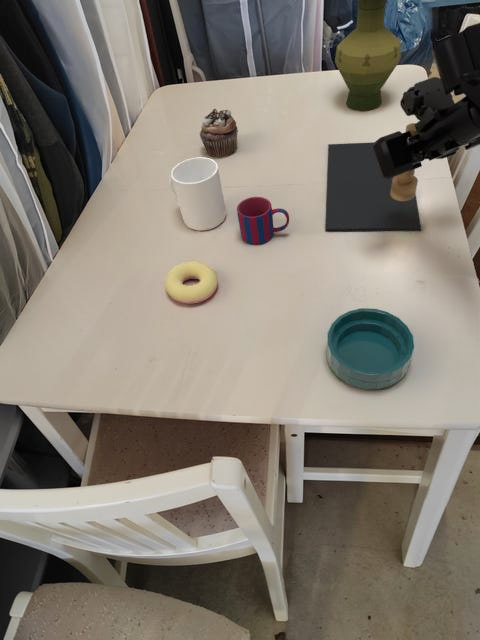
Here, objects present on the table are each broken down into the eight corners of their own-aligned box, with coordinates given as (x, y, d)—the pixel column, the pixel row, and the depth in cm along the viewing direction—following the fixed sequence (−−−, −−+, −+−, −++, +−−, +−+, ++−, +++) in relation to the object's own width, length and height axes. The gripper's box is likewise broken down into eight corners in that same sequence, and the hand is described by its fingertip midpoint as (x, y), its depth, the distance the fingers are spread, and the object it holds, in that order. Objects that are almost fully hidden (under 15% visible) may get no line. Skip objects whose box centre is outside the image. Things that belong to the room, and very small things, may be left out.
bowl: (404, 327, 71) (409, 309, 68) (412, 394, 63) (418, 377, 60) (327, 325, 73) (328, 307, 70) (325, 388, 66) (326, 372, 62)
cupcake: (242, 139, 116) (237, 100, 108) (236, 159, 110) (231, 119, 102) (207, 140, 118) (199, 102, 110) (199, 160, 112) (191, 122, 104)
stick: (413, 187, 84) (427, 119, 74) (416, 201, 81) (430, 132, 71) (389, 187, 84) (399, 121, 75) (391, 201, 82) (401, 134, 72)
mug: (220, 233, 92) (210, 184, 83) (167, 230, 95) (152, 182, 86) (231, 206, 98) (223, 157, 89) (181, 203, 101) (168, 156, 92)
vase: (323, 99, 125) (325, -34, 102) (375, 84, 126) (389, -50, 103) (350, 123, 114) (359, -18, 91) (406, 107, 116) (429, -36, 93)
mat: (405, 144, 105) (406, 140, 104) (420, 231, 85) (421, 227, 84) (328, 147, 108) (328, 144, 108) (325, 231, 88) (325, 228, 88)
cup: (246, 222, 93) (243, 195, 88) (293, 227, 90) (292, 199, 85) (236, 243, 89) (232, 215, 84) (284, 249, 86) (283, 221, 81)
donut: (193, 273, 88) (158, 297, 83) (187, 253, 86) (151, 277, 81) (229, 286, 83) (195, 313, 78) (225, 265, 80) (189, 291, 75)
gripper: (499, 49, 64) (433, 99, 79) (388, 86, 61) (341, 130, 76) (522, 123, 65) (452, 159, 80) (414, 163, 62) (363, 192, 77)
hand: (403, 158), depth 79 cm, fingers closed on stick, 2 cm apart
